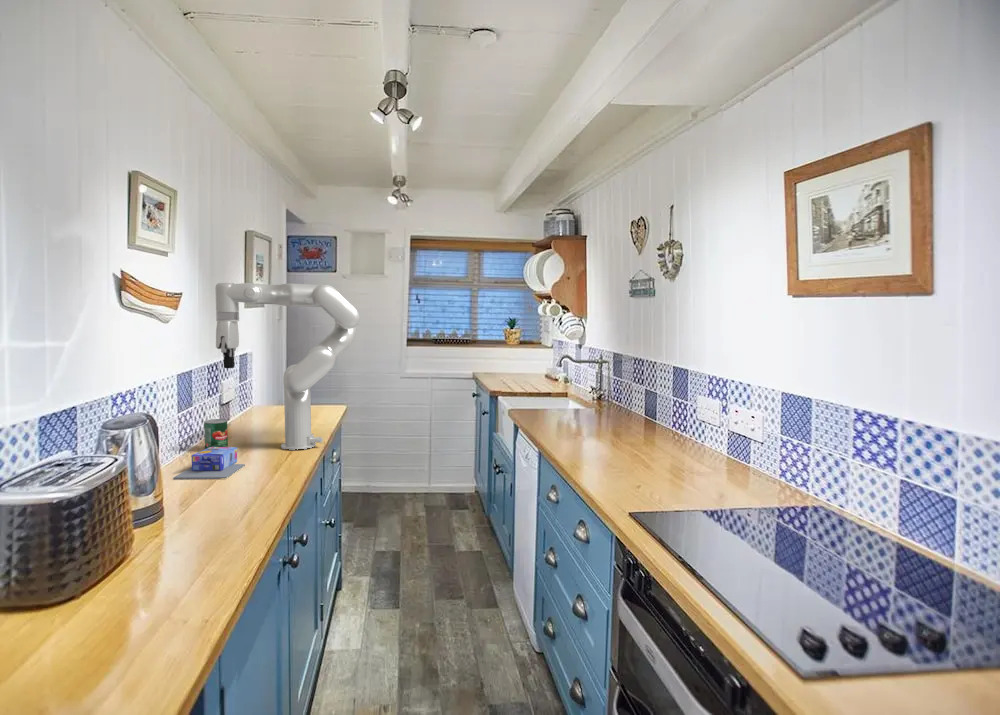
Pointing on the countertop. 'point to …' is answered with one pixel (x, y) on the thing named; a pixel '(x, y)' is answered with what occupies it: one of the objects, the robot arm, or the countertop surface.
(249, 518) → the countertop surface
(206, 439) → the canned tomato
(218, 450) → the ink cartridge box
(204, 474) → the mat
